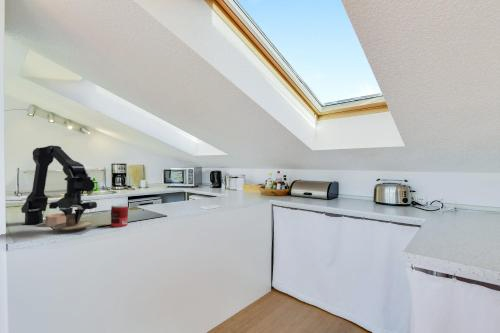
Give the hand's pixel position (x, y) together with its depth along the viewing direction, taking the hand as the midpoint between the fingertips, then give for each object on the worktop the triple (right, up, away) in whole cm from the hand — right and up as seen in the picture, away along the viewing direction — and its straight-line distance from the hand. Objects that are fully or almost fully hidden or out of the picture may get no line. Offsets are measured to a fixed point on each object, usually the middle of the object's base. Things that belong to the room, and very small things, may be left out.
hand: (73, 223), depth 122 cm
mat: (0, -4, 0) cm, 4 cm away
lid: (0, -1, 0) cm, 1 cm away
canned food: (+16, -4, +11) cm, 20 cm away
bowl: (-15, -3, +11) cm, 19 cm away
